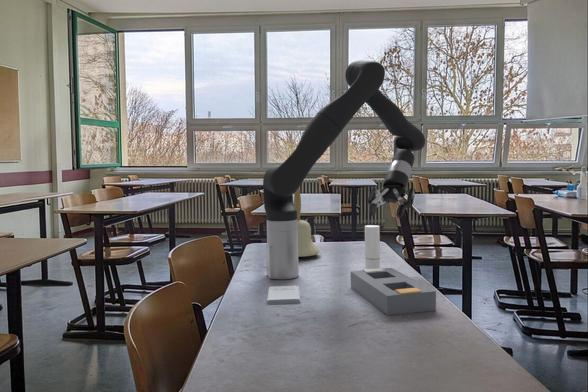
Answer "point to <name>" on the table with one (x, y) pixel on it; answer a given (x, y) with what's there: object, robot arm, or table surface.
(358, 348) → the table surface
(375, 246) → the tube
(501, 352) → the table surface
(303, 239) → the handbell
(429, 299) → the socket block
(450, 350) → the table surface
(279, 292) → the external hard drive
